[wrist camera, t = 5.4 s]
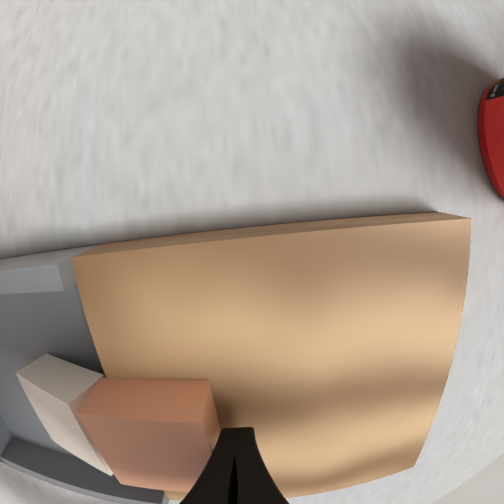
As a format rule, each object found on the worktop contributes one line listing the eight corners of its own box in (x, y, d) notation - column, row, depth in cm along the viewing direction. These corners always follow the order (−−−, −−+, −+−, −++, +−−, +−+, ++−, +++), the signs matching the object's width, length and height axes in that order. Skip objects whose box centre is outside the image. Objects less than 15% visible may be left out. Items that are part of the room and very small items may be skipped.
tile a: (226, 454, 12) (225, 493, 10) (133, 449, 12) (121, 483, 10) (209, 379, 11) (202, 422, 8) (99, 377, 11) (76, 412, 8)
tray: (174, 472, 16) (166, 510, 12) (16, 438, 16) (-1, 461, 12) (99, 244, 12) (57, 263, 9) (-58, 268, 12) (-88, 281, 9)
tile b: (136, 447, 12) (111, 476, 10) (77, 419, 14) (52, 440, 11) (104, 374, 11) (67, 403, 9) (46, 353, 13) (15, 372, 10)
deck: (401, 443, 16) (413, 466, 13) (174, 472, 16) (169, 499, 13) (438, 212, 12) (470, 218, 10) (99, 244, 12) (71, 257, 10)
